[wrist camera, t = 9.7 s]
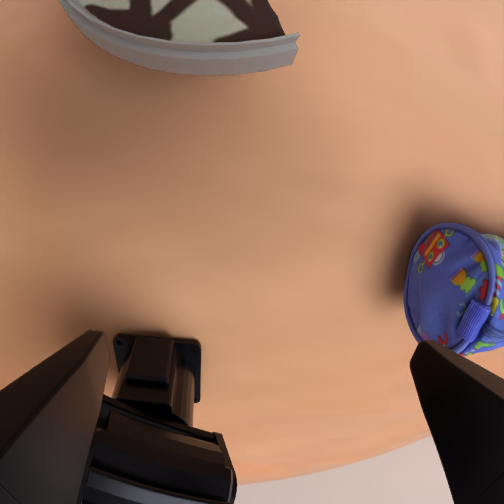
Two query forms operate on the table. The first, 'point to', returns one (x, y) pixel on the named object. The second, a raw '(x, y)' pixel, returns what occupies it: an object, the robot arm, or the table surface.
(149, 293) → the table surface
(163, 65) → the food container
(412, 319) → the pencil case
